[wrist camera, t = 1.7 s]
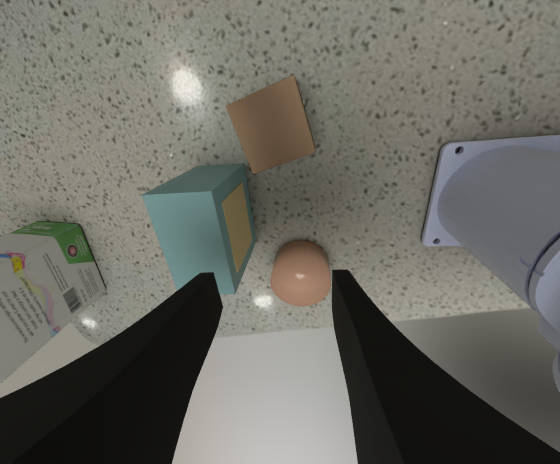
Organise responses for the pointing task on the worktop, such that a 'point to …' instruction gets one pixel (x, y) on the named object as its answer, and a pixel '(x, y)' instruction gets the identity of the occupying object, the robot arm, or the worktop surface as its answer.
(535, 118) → the worktop surface
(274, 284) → the peach rounded dome
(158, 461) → the robot arm
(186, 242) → the teal block
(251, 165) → the walnut cube
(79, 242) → the ink box
